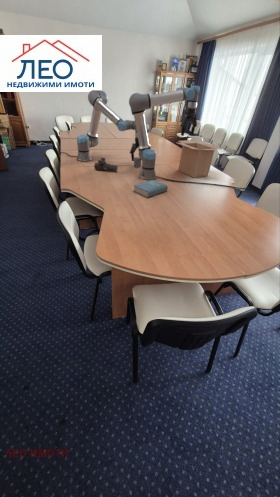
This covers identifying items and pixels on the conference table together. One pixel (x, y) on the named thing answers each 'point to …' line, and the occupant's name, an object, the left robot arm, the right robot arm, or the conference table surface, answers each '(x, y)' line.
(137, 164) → the brick
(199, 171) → the box
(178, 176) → the conference table surface
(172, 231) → the conference table surface
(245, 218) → the conference table surface
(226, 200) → the conference table surface
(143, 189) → the book
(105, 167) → the laser sight
